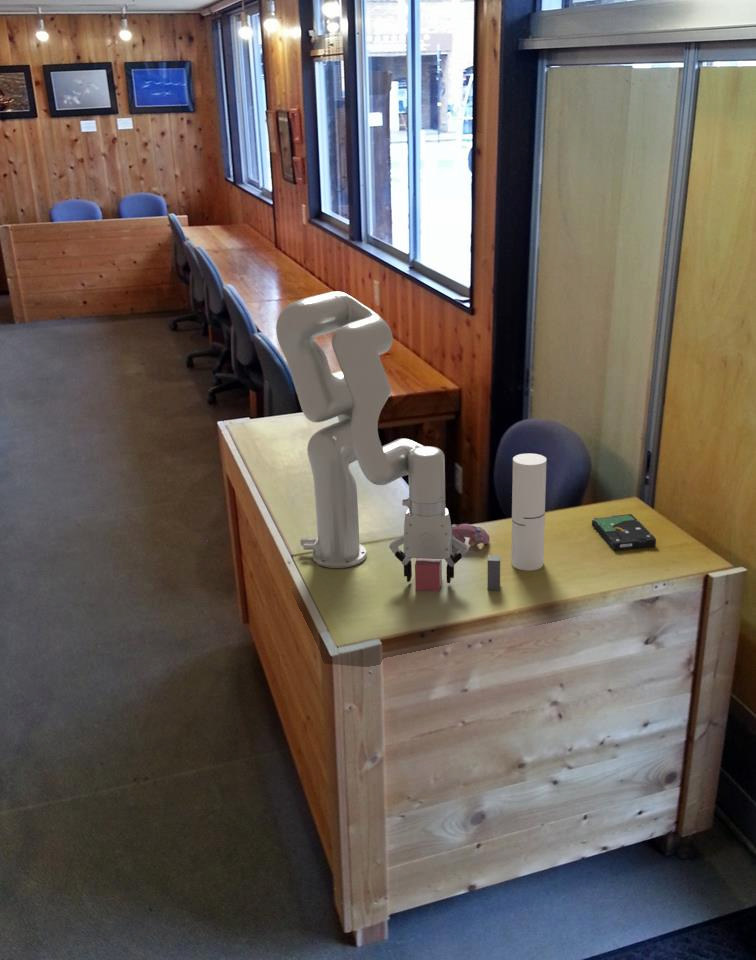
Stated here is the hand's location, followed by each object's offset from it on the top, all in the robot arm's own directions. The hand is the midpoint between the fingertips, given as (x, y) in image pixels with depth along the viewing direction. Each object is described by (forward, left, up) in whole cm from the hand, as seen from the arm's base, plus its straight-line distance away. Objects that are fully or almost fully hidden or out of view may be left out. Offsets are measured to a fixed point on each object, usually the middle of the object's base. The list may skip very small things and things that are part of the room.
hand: (429, 579), depth 201 cm
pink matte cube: (0, 0, -1) cm, 1 cm away
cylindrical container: (+21, +12, -1) cm, 24 cm away
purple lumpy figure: (+7, +21, -2) cm, 22 cm away
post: (+14, 0, -1) cm, 14 cm away
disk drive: (+43, +28, -2) cm, 52 cm away
